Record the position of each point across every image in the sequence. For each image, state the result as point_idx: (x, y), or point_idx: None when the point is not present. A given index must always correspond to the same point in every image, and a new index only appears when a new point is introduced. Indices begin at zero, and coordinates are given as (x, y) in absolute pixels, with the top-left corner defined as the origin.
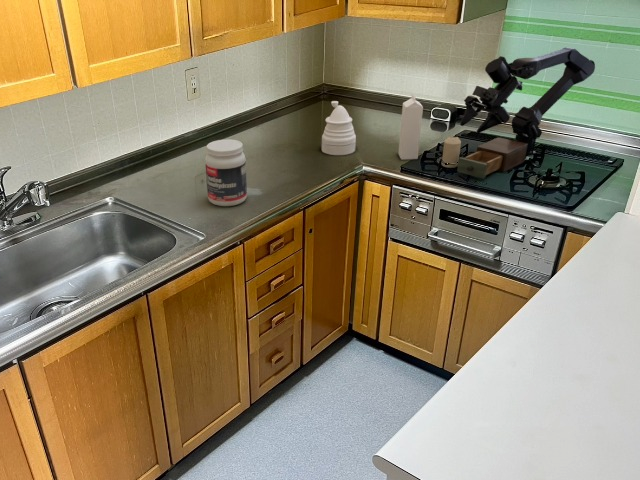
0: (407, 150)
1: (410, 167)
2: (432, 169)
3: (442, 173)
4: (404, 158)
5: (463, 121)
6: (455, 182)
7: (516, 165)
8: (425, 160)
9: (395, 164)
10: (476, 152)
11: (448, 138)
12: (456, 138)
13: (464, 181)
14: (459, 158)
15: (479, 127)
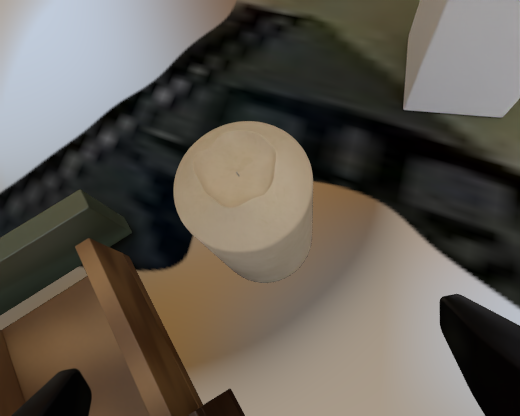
0: (419, 20)
1: (288, 52)
2: None
3: (166, 161)
4: (408, 46)
5: (470, 340)
6: (43, 176)
7: None
8: (375, 142)
9: (345, 4)
10: (140, 365)
11: (238, 128)
12: (237, 204)
13: None
14: (77, 191)
15: (30, 413)
